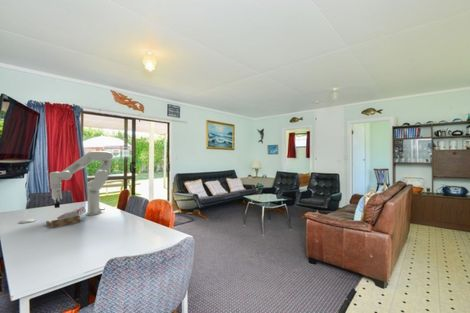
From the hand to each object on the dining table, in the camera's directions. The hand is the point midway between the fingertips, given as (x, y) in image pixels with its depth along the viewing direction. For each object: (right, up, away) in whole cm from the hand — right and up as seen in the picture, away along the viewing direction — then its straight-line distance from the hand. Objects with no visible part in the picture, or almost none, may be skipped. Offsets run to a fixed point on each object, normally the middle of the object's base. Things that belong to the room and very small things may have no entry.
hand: (57, 207), depth 196 cm
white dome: (-18, -10, -8) cm, 22 cm away
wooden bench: (+14, -10, -12) cm, 21 cm away
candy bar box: (+8, -7, -6) cm, 13 cm away
